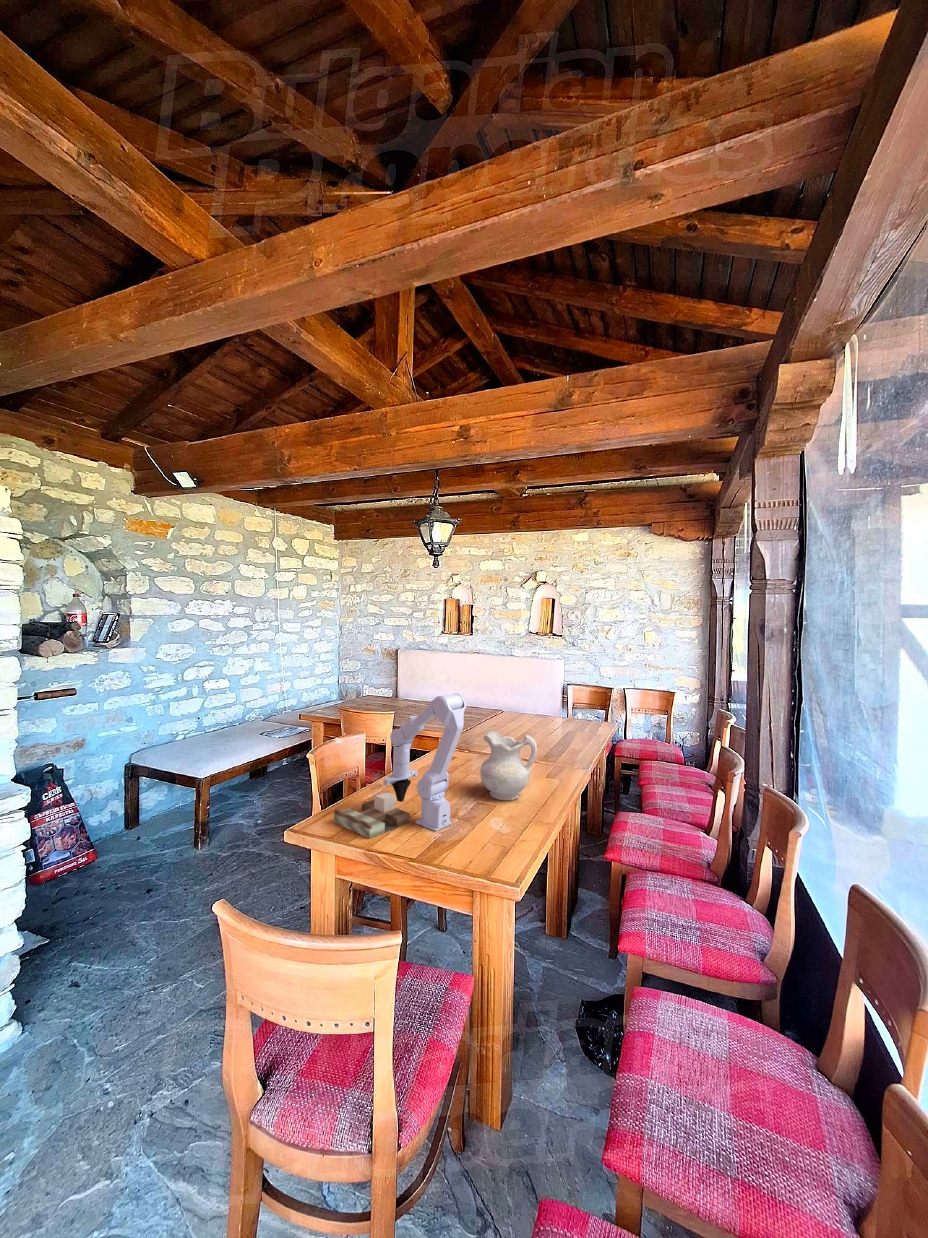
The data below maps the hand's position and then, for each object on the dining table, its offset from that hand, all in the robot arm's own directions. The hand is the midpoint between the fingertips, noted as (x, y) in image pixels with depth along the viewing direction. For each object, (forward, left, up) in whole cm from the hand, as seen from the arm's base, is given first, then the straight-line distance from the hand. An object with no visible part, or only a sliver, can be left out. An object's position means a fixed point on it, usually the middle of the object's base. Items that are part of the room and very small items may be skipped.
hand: (400, 800), depth 172 cm
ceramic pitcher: (-19, -39, -4) cm, 44 cm away
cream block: (0, +7, -1) cm, 7 cm away
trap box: (0, +13, -4) cm, 13 cm away
